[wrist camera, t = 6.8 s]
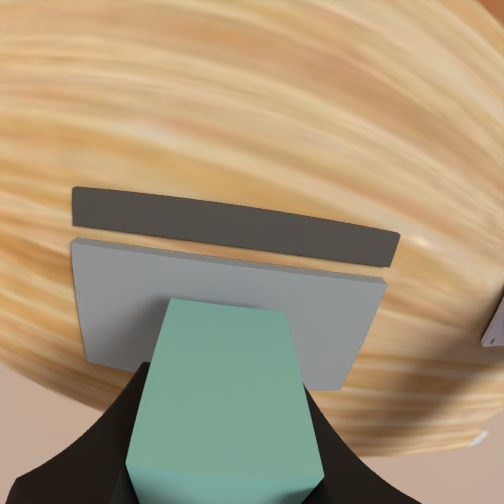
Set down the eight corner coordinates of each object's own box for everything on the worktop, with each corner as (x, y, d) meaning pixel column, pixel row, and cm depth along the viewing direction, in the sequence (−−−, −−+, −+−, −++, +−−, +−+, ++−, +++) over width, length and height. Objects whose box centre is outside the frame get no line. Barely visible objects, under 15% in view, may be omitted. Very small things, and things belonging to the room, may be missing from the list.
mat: (382, 278, 14) (387, 284, 13) (337, 382, 17) (339, 390, 16) (76, 237, 12) (70, 242, 12) (91, 355, 15) (87, 362, 15)
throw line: (397, 232, 13) (400, 235, 13) (386, 264, 14) (389, 267, 13) (75, 186, 11) (72, 188, 11) (76, 222, 12) (73, 224, 12)
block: (285, 311, 12) (324, 476, 6) (263, 387, 14) (279, 526, 7) (170, 297, 12) (125, 463, 5) (168, 377, 13) (145, 516, 7)
